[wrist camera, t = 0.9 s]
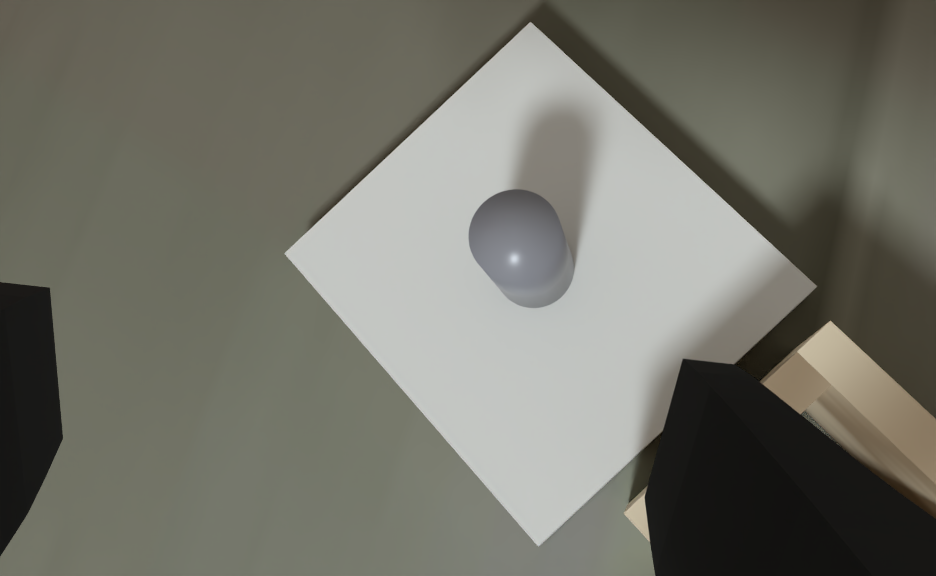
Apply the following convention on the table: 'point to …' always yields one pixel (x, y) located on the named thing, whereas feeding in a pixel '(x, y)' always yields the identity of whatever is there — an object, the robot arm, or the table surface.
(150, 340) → the table surface
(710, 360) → the pin block
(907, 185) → the table surface
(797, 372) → the collar
